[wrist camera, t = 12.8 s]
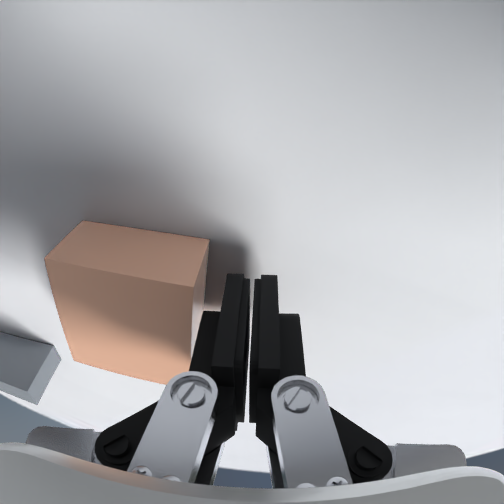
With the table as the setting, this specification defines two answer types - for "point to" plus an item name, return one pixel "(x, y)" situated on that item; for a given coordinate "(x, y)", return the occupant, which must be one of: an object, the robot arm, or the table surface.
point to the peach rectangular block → (129, 298)
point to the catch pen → (26, 367)
